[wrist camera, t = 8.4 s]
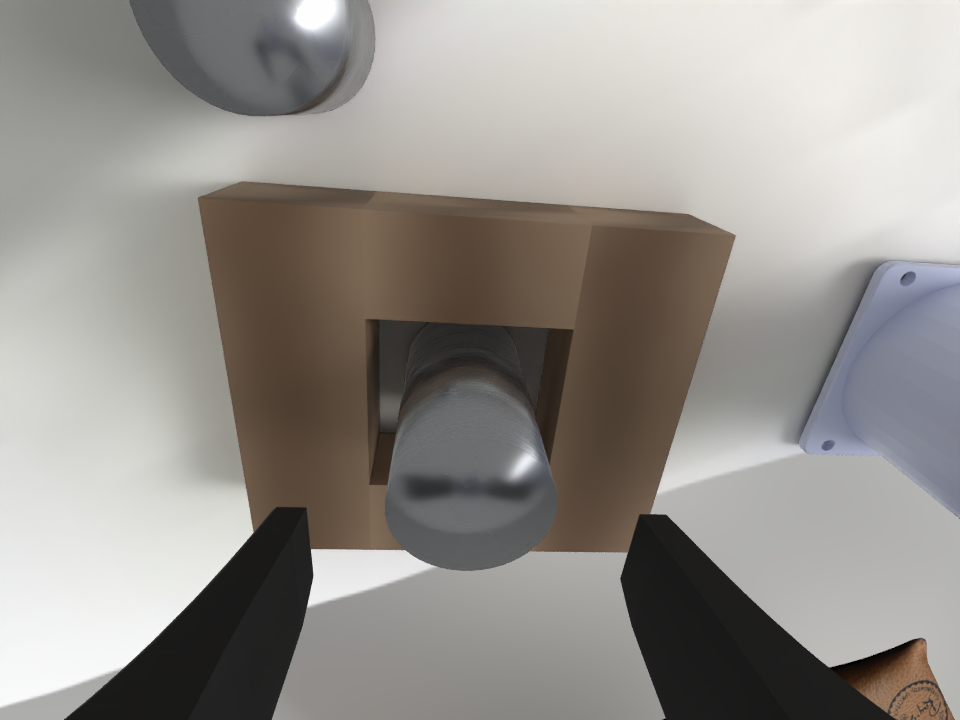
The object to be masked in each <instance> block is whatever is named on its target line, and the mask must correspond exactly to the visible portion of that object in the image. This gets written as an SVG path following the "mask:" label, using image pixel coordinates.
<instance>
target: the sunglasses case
mask: <svg viewBox="0 0 960 720" xmlns="http://www.w3.org/2000/svg"><path fill="white" fill-rule="evenodd" d="M927 660H928V659H927V643H926V640H925V639H923V638H917V639H912V640H910V641H908V642H905V643H903V644H901V645H898V646H896V647H894V648H891V649H888V650H886V651H883V652H880V653H877V654H875V655H872V656H869V657H866V658H863V659H859V660H856V661H852V662H849V663H845V664H841V665H837V666H833V667H829V668H830V669H831V670H832V671H834V672H835V673H836V674H837V675H839V676H840V677H841V678H842V679H844V680H845V681H846V682H847V683H849V684H850V685H851V686H852V687H854V688H855V689H856V690H857V691H859V692H860V693H861V694H863V695H864V696H865V697H867V698H868V699H869V700H871V701H872V702H873V703H874V704H876V705H877V706H878V707H880V708H881V709H882V710H884V711H885V712H887V713H888V714H889V715H891V716H892V717H894V718H895V719H896V720H955V719H954V718H953V716H952V713H951V711H950V709H949V707H948V705H947V703H946V701H945V699H944V696H943V694H942V692H941V690H940V688H939V686H938V684H937V682H936V679H935V678H934V675H933V673H932V671H931V669H930V666H929V664H928V661H927ZM662 720H666V718H665V719H662Z"/></svg>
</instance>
